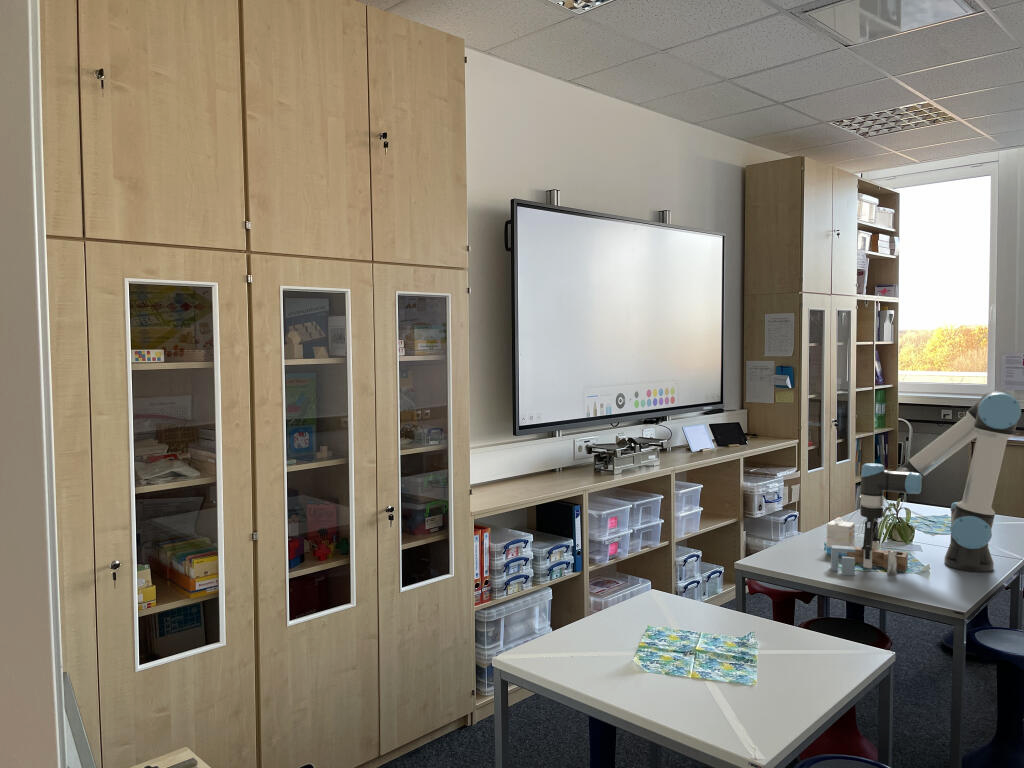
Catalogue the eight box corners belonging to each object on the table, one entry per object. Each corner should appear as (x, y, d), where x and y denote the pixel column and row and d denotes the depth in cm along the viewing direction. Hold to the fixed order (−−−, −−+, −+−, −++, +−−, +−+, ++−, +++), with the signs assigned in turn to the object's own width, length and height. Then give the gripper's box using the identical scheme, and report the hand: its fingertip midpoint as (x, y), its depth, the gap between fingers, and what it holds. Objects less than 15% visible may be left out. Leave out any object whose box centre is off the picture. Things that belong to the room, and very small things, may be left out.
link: (907, 565, 268) (907, 552, 268) (905, 570, 263) (905, 557, 262) (849, 557, 279) (849, 544, 279) (845, 562, 274) (846, 549, 273)
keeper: (853, 569, 265) (854, 546, 265) (856, 575, 258) (856, 552, 257) (831, 567, 267) (831, 545, 267) (832, 573, 260) (833, 550, 260)
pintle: (896, 573, 260) (897, 551, 259) (895, 575, 257) (896, 553, 257) (888, 572, 261) (888, 549, 261) (886, 574, 259) (887, 551, 258)
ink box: (849, 557, 280) (850, 522, 279) (826, 553, 285) (826, 519, 285) (854, 552, 287) (855, 518, 286) (832, 548, 292) (832, 515, 291)
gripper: (866, 498, 283) (864, 553, 285) (854, 511, 263) (853, 569, 264) (887, 501, 279) (886, 556, 280) (878, 513, 258) (876, 573, 260)
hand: (870, 563), depth 272 cm, fingers open, 13 cm apart
